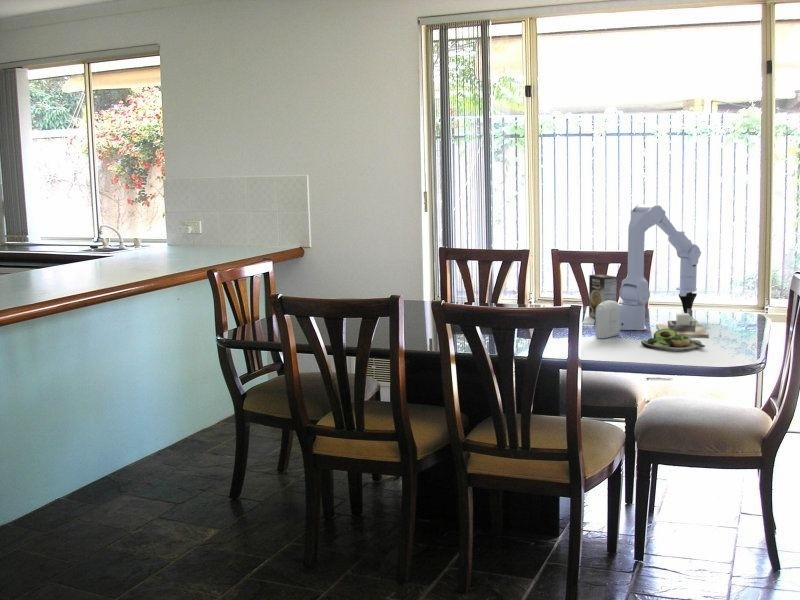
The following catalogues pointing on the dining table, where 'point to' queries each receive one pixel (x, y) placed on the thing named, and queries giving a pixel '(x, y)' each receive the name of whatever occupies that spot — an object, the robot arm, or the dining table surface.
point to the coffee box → (601, 291)
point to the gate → (691, 316)
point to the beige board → (685, 329)
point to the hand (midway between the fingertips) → (687, 313)
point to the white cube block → (682, 319)
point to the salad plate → (671, 341)
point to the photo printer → (607, 319)
